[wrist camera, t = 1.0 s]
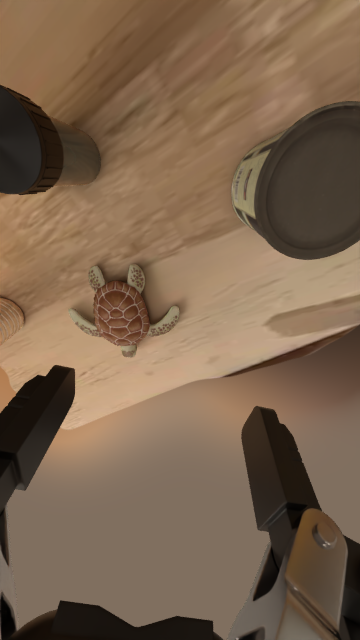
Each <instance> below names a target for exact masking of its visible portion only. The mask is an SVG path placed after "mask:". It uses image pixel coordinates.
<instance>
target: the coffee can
mask: <svg viewBox="0 0 360 640" xmlns="http://www.w3.org/2000/svg"><path fill="white" fill-rule="evenodd" d="M231 198H232V204H233V208H234V210H235V212H236V214H237V216H238V217H239V218H240V220H241V221H242V222H243V223H244V224H246V225H247V226H249V227H250V228H252V229H253V230H255V231H256V232H257V233H259V234H260V235H261V236H262V237H263V238H265V240H266V241H267V242H268V243H269V244H270V245H271V246H272V247H273V248H274V249H276V250H277V251H279V252H280V253H282V254H284V255H286V256H289V257H292V258H296V259H303V260H312V259H320V258H324V257H328V256H331V255H334V254H337V253H339V252H341V251H343V250H345V249H347V248H349V247H350V246H352V245H353V244H355V243H356V242H358V241H359V240H360V102H356V101H346V102H338V103H333V104H330V105H327V106H324V107H321V108H319V109H316V110H314V111H313V112H311V113H309V114H307V115H306V116H304V117H303V118H301V119H300V120H299V121H297V122H296V123H295V124H294V125H292V126H291V127H290V128H288V129H286V130H284V131H282V132H281V133H279V134H277V135H275V136H274V137H272V138H270V139H269V140H266V141H263V142H261V143H260V144H258V145H257V146H255V147H254V148H253V149H251V150H250V151H249V152H248V153H247V154H246V155H245V157H244V158H243V159H242V161H241V162H240V164H239V165H238V167H237V169H236V172H235V174H234V178H233V182H232V188H231Z"/></svg>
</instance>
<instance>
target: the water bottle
mask: <svg viewBox="0 0 360 640" xmlns="http://www.w3.org/2000/svg"><path fill="white" fill-rule="evenodd" d="M23 324H24V315H23V313H22V311H21V310H20V308H19V307H18V306H17V305H16V304H15V303H13V302H12V301H10V300H8V299H5V298H0V346H1V345H2V344H3V343H5V342H6V341H7V340H8V339H9V338H11V337H12V336H13V335H14V334H15V333H16V332H18V330H20V328H21V327H22V326H23Z"/></svg>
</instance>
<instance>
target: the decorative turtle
mask: <svg viewBox="0 0 360 640" xmlns="http://www.w3.org/2000/svg"><path fill="white" fill-rule="evenodd" d="M89 283H90V285H91V287H92V289H93V290H94V292H95V293H96V294H95V297H94V304H93V305H94V314H95V317H94V320H95V325H94V324H92V323H91V322H89V321H88V320H86V319H85V318H84V317H82V316H81V315H80V314H79V313H78V312H77V311H76V310H75V309H74V308H70V309H69V310H68V311H69V314H70V316H71V318H72V320H73V322H74V323H75V324H76V325H77V326H78V327H79V328H80V329H81V330H82V331H84V332H85V333H87V334H89V335H92V336H97V337H104V338H105V339H107V340H108V341H110V342H111V343H113V344H115V345H117V346H121V351H122V354H123V356H125V357H129V358H131V357H134V356H135V354H136V350H137V343H138V342H140V341H141V340H142V339H143V338H144V337H145V336H158V335H162V334H165V333H167V332H169V331H170V330H171V329H172V328H173V327H174V326H175V325H176V323H177V321H178V318H179V308H178V306H172V307H171V309H170V310H169V312H168V313H167V314H166V316H165V317H164V318H163V319H162V320H160V321H159V322H158V323H156V324H152V325H151V324H150V322H149V316H148V313H147V309H146V307H145V303H144V301H143V300H142V297H141V295H140V294H141V292H142V290H143V288H144V285H145V277H144V274H143V271H142V270H141V268H140V267H139V266H137V265H130V267H129V270H128V281H127V283H124V282H122V281H111V282H108V283H107V284H106V283H105V281H104V278H103V275H102V272H101V270H100V269H99V267H98V266H93V267H92V268H91V269H90V270H89Z"/></svg>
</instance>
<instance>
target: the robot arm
mask: <svg viewBox="0 0 360 640" xmlns="http://www.w3.org/2000/svg"><path fill="white" fill-rule="evenodd" d="M74 396H75V369H74V368H69V367H64V366H59V365H55V366H53V367H52V369H51V370H50V371H49V373H48V374H47V375H46V376H41V375H37V376H36V377H34V378H33V379H31V380H29V381H28V382H26V383H25V384H24V385H23V386H22V388H21V389H20V390H19V391H18V392H17V394H16V396H15V397H14V398H13V399H12V400H11V401H10V402H9V403H8V406H6V407H5V408H4V409H3V411H2V412H1V413H0V640H223V639H222V638H221V637H220V636H219V635H217V634H216V633H215V632H213V621H210V620H202V619H195V618H187V617H180V616H175V617H172V618H168V619H165V620H162V621H158V622H155V623H152V624H148V625H145V626H141V627H134V626H132V625H130V624H128V623H127V622H125V621H124V620H122V619H120V618H119V617H117V616H115V615H113V614H112V613H110V612H109V611H107V610H105V609H104V608H102V607H100V606H98V605H89V604H83V603H75V602H68V601H60V603H59V606H58V609H57V610H53V611H49V612H47V613H45V614H43V615H40V616H38V617H37V618H35V619H33V620H32V621H30V622H28V623H27V624H25V625H24V626H23V627H22V628H20V629H19V623H18V611H17V600H16V589H15V582H14V577H13V571H12V563H11V550H10V539H9V538H10V537H9V525H8V513H7V502H8V500H9V498H10V497H11V495H12V493H13V492H14V490H15V489H18V490H26V489H27V487H28V485H29V483H30V481H31V479H32V478H33V476H34V474H35V472H36V470H37V468H38V467H39V465H40V463H41V461H42V459H43V457H44V455H45V454H46V452H47V450H48V448H49V446H50V444H51V443H52V441H53V439H54V437H55V435H56V433H57V431H58V429H59V428H60V426H61V424H62V422H63V420H64V419H65V417H66V415H67V413H68V411H69V409H70V407H71V405H72V403H73V400H74ZM242 445H243V450H244V455H245V462H246V467H247V472H248V478H249V484H250V489H251V495H252V500H253V506H254V512H255V517H256V523H257V528H258V530H260V531H267V532H269V535H270V540H271V541H270V542H269V544H268V546H267V548H266V551H265V554H264V556H263V559H262V561H261V564H260V567H259V569H258V572H257V575H256V577H255V580H254V583H253V585H252V588H251V590H250V593H249V596H248V598H247V600H246V602H245V604H244V606H243V608H242V609H241V610H240V612H239V613H238V615H237V617H236V619H235V621H234V623H233V625H232V628H231V630H230V633H229V635H228V638H227V640H360V544H359V543H357V542H355V541H353V540H351V539H350V538H348V537H346V536H344V535H343V534H342V532H341V531H340V529H339V527H338V526H337V525H336V523H335V522H334V521H333V520H332V519H331V518H330V517H329V516H328V515H326V514H325V513H324V512H322V510H321V508H320V505H319V503H318V500H317V498H316V495H315V493H314V490H313V487H312V485H311V482H310V479H309V477H308V474H307V472H306V469H305V467H304V464H303V463H302V458H301V456H300V453H299V452H298V448H297V445H296V443H295V440H294V437H293V436H292V434H291V433H290V431H289V430H288V429H287V427H286V426H285V425H284V424H280V423H279V420H278V417H277V414H276V412H275V411H274V410H273V409H269V408H264V407H258V406H256V407H254V409H253V411H252V413H251V414H250V416H249V417H248V419H247V421H246V422H245V424H244V426H243V429H242Z"/></svg>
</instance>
